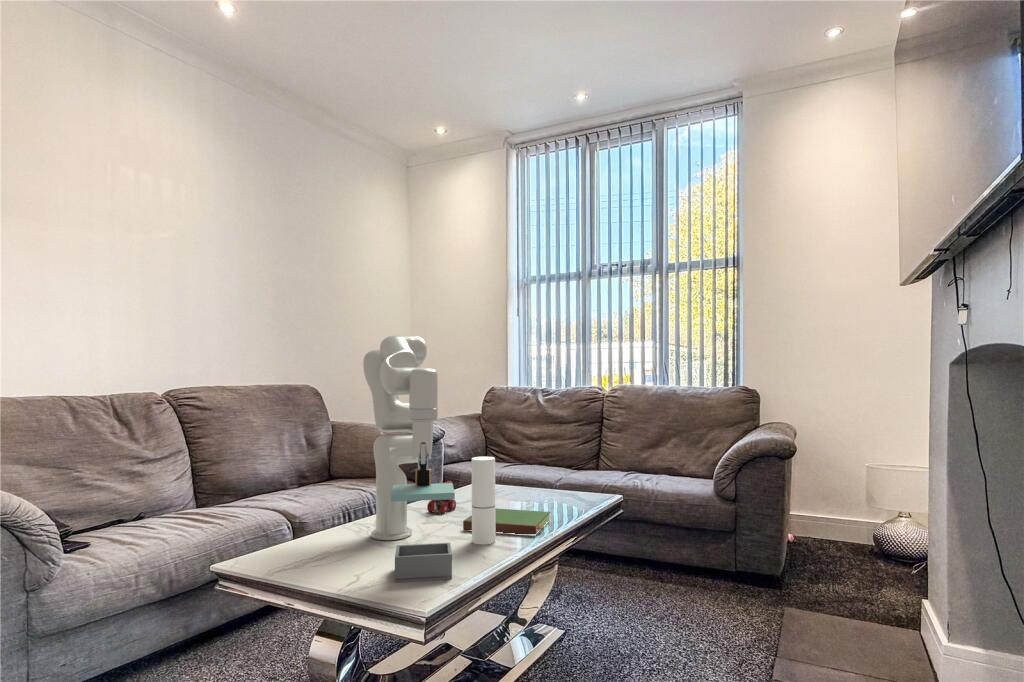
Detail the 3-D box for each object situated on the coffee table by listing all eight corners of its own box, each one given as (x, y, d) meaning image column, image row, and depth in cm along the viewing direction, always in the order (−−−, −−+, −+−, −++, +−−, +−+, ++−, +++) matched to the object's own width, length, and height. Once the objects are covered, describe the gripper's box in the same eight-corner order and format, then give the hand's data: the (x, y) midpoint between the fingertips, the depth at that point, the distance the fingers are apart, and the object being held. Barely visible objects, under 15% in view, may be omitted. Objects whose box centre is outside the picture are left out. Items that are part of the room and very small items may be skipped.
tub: (396, 568, 154) (396, 545, 154) (450, 565, 156) (450, 542, 156) (394, 582, 144) (394, 557, 144) (452, 578, 146) (451, 554, 146)
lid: (393, 491, 156) (393, 469, 156) (452, 489, 158) (452, 468, 158) (391, 501, 144) (391, 478, 144) (454, 499, 146) (454, 476, 147)
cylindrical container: (495, 538, 181) (495, 456, 182) (495, 544, 174) (495, 459, 175) (472, 538, 180) (471, 456, 182) (471, 545, 173) (471, 460, 175)
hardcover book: (463, 532, 189) (463, 520, 189) (483, 518, 207) (483, 507, 207) (538, 538, 182) (538, 526, 182) (552, 523, 200) (552, 512, 200)
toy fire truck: (423, 514, 212) (423, 485, 212) (443, 506, 223) (443, 479, 223) (439, 516, 209) (439, 486, 209) (458, 508, 220) (458, 480, 220)
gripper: (409, 412, 163) (409, 479, 163) (408, 418, 148) (407, 491, 147) (436, 412, 165) (436, 478, 164) (438, 417, 149) (438, 490, 148)
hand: (423, 483), depth 156 cm, fingers closed on lid
